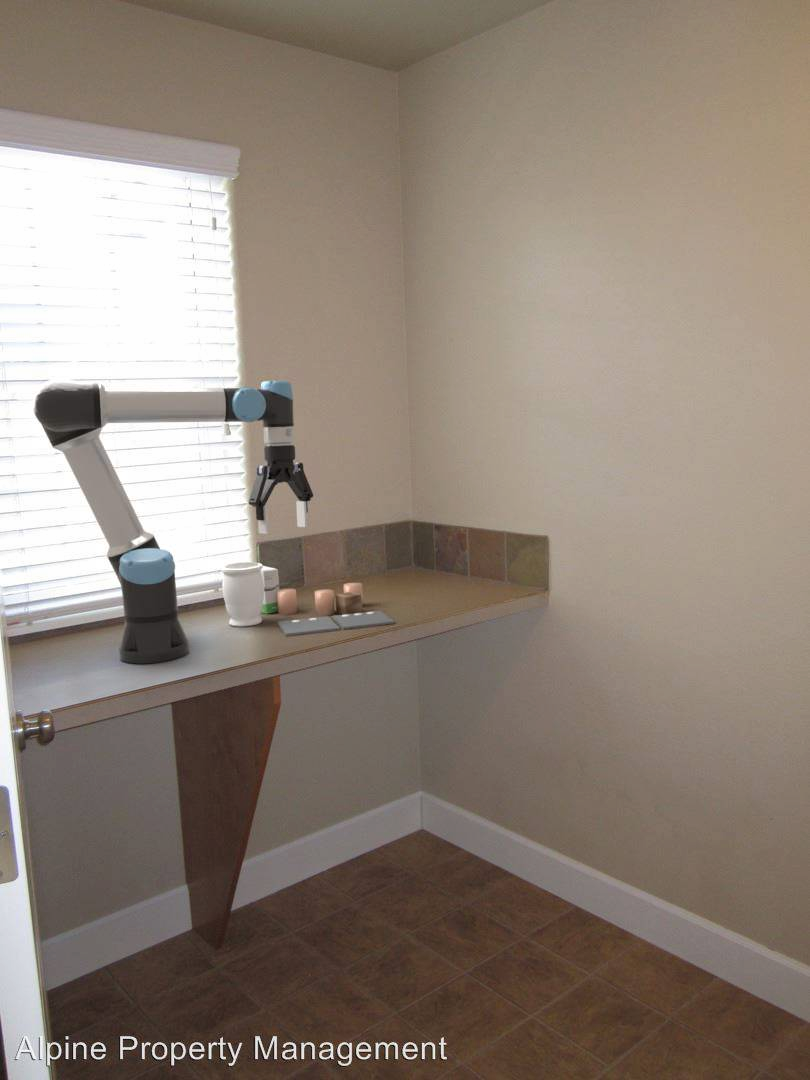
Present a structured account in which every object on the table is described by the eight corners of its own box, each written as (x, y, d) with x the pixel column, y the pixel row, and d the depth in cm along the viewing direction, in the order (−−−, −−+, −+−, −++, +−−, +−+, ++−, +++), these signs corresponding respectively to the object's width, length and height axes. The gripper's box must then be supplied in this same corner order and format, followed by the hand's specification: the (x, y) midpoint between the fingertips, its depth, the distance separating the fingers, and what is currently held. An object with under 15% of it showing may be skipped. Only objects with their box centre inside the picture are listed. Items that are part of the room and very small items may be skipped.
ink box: (282, 611, 239) (279, 568, 237) (266, 614, 236) (263, 571, 234) (265, 606, 246) (262, 564, 244) (249, 609, 242) (247, 567, 241)
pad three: (343, 629, 216) (343, 626, 216) (332, 618, 229) (331, 615, 228) (394, 623, 220) (394, 620, 220) (380, 612, 232) (380, 609, 232)
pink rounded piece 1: (317, 616, 231) (316, 594, 230) (314, 612, 236) (312, 590, 235) (336, 614, 232) (335, 592, 232) (332, 610, 237) (331, 588, 236)
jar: (257, 628, 221) (253, 569, 219) (218, 628, 223) (214, 569, 221) (272, 618, 231) (268, 561, 229) (234, 617, 233) (230, 561, 231)
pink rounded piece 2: (347, 608, 238) (345, 587, 237) (342, 605, 243) (341, 583, 242) (365, 606, 240) (363, 585, 239) (360, 603, 244) (359, 582, 244)
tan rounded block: (279, 615, 234) (278, 593, 233) (277, 611, 239) (275, 589, 238) (298, 613, 236) (297, 591, 235) (295, 609, 240) (294, 587, 239)
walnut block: (345, 616, 231) (344, 597, 230) (336, 612, 235) (335, 594, 234) (362, 613, 233) (361, 594, 232) (352, 610, 237) (352, 591, 237)
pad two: (286, 636, 212) (286, 632, 212) (277, 624, 225) (277, 621, 224) (339, 630, 216) (339, 626, 216) (328, 618, 228) (328, 615, 228)
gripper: (252, 447, 206) (257, 537, 209) (324, 442, 226) (328, 524, 229) (230, 446, 211) (235, 535, 214) (303, 442, 230) (306, 523, 233)
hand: (283, 530), depth 221 cm, fingers open, 13 cm apart
